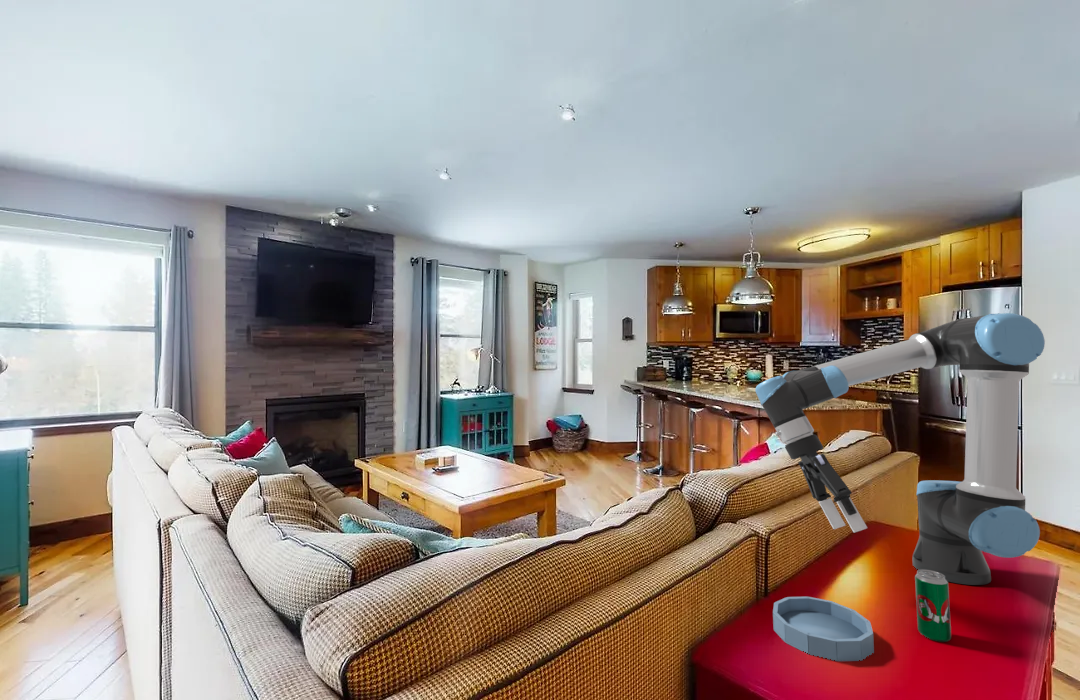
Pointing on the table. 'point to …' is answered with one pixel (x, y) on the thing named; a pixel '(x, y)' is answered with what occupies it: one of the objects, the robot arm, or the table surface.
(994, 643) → the table surface
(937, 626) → the soda can
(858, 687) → the table surface
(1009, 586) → the table surface
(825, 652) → the bowl
